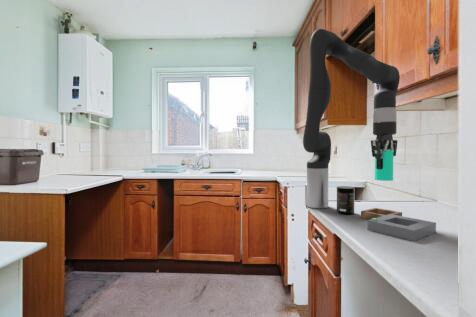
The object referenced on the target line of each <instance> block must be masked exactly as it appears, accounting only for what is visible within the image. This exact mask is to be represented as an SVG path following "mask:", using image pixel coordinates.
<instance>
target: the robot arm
mask: <svg viewBox="0 0 476 317" xmlns="http://www.w3.org/2000/svg"><path fill="white" fill-rule="evenodd" d="M327 56H331V57H334V58H337V59H339V60H341V61H342V62H343V64H345V65H347V66H348V67H349V68H350V69H352V70H354V71H355V72H357V73H359V74H361V75H363V76H364V77H365V78H366V79H367V80H368V81H370V82H372V83H374V84H376V85H379V88H378V89H379V90H378V92H376V93H375V94H374V96H373V112H372V113H373V114H372V135H373V136H376V138H375V139H371V140H370V147H371V156H372V157H373V158H374V159H375V158H376V168H377V169H383V153H384V152H385V151H389V150H393V158H394V157H396V155H397V150H398V140H397V139H393V136H394V135H396V134H397V118H398V117H397V115H398V114H397V108H396V107H397V98H396V97H397V93H398V90H399V86H400V78H401V77H400V76H401V75H400V71H399V69H398V68H397V67H396V66H395V65H390V64H388V63H385V62H383V61H380V60H378V59H377V58H376V57H374V56H373V55H371V54H369V53H368V52H365V51H364V50H360V49H359V48H356V47H354V46H352V45H350V44H349V43H347V42H345V40H343V39H342V38H340V36H338V35H337V34H336V33H334V32H333V31H331V30H328V29H325V28H318V29H316V30H314V32H313V33H312V35H311V37H310V41H309V60H310V64H309V65H310V66H309V82H308V84H309V85H308V92H307V94H308V95H307V109H306V110H307V111H306V120H305V125H304V132H303V137H302V143H303V148H304V151H306V153H313V156H312V157H311V159H309V160H307V162H306V183H305V185H304V206H306V207H308V208H311V209H326V208H329V164H330V162H331V155H332V154H331V152H332V139H331V137H330V135H329V133H327V132H325V131H320V126H321V121H322V118H323V115H324V114H325V113H326V111H327V108H328V107H329V104H330V102H331V101H330V100H331V95H332V93H331V92H332V83H331V79H330V75H329V73H328V70H327V64H326V63H327V62H326V57H327ZM375 151H376V153H375ZM380 152H381V153H380Z"/></svg>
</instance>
